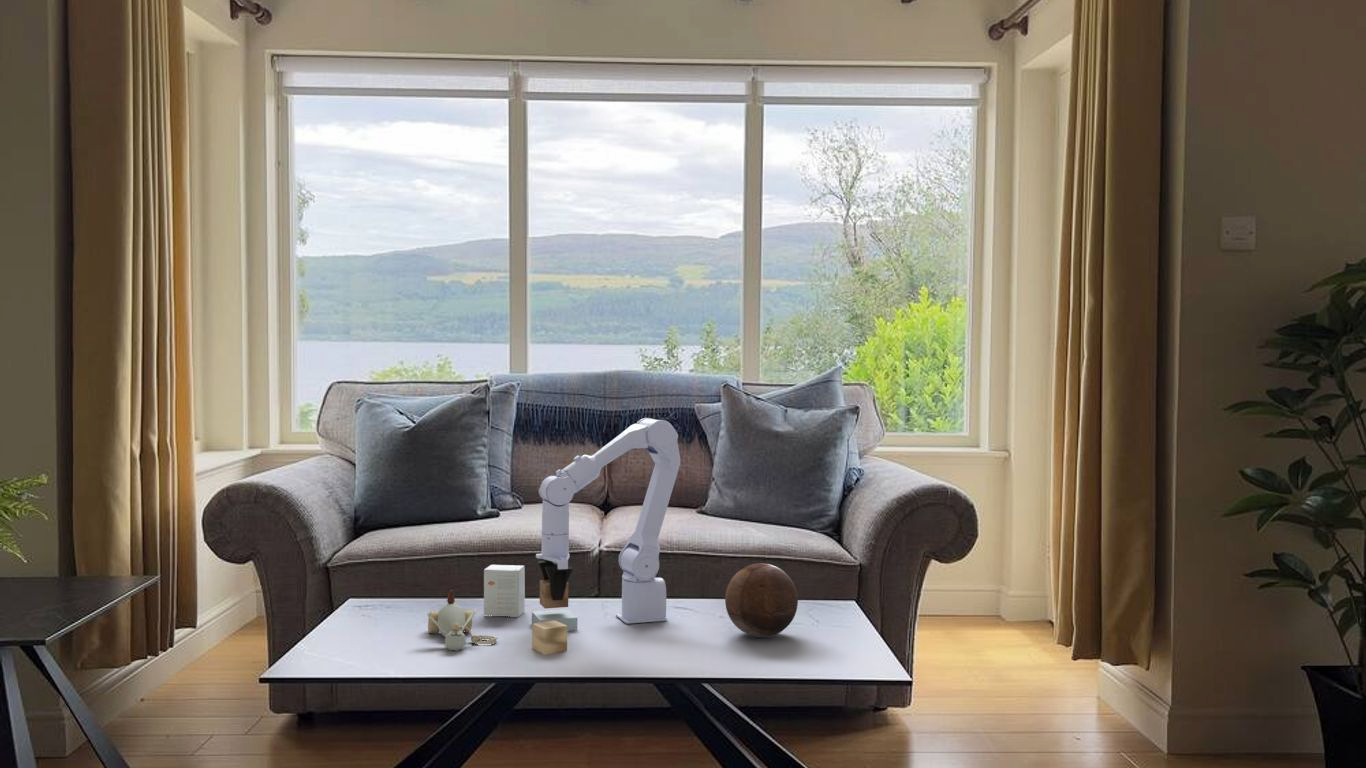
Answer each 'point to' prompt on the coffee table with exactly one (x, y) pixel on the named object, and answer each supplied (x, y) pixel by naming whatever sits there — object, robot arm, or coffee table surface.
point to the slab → (556, 617)
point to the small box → (504, 590)
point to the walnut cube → (547, 597)
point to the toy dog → (455, 625)
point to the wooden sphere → (761, 600)
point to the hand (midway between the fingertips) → (554, 597)
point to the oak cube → (549, 637)
